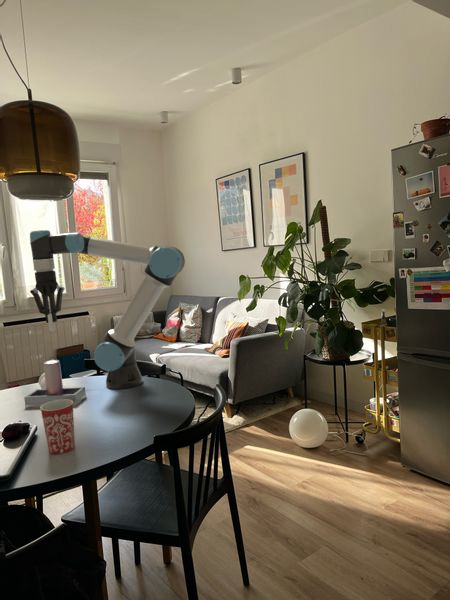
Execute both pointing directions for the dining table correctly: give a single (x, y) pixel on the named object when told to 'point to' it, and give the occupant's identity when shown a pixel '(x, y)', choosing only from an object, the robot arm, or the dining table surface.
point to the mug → (59, 425)
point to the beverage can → (53, 377)
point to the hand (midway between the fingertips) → (52, 330)
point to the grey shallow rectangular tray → (54, 396)
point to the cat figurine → (42, 381)
